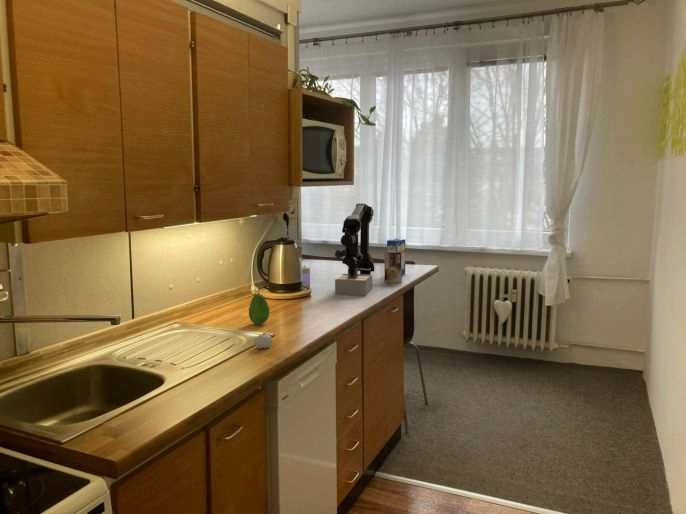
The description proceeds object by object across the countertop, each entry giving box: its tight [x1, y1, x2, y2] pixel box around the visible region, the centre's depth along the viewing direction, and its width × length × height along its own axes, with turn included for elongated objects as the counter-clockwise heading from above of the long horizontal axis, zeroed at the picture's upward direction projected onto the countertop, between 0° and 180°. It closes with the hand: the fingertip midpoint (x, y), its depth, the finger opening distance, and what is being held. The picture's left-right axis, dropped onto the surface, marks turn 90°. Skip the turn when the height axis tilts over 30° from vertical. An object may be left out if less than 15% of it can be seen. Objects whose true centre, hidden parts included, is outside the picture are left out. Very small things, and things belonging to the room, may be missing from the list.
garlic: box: [254, 331, 273, 350], centre depth 185 cm, size 6×5×5 cm
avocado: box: [248, 293, 270, 326], centre depth 214 cm, size 8×8×12 cm
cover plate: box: [337, 268, 369, 280], centre depth 272 cm, size 14×14×5 cm
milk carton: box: [386, 238, 406, 276], centre depth 316 cm, size 10×6×20 cm, turn 144°
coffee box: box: [383, 250, 403, 283], centre depth 297 cm, size 9×6×16 cm
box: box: [334, 273, 373, 296], centre depth 273 cm, size 16×15×7 cm
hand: (352, 275), depth 273 cm, fingers closed on cover plate, 4 cm apart
